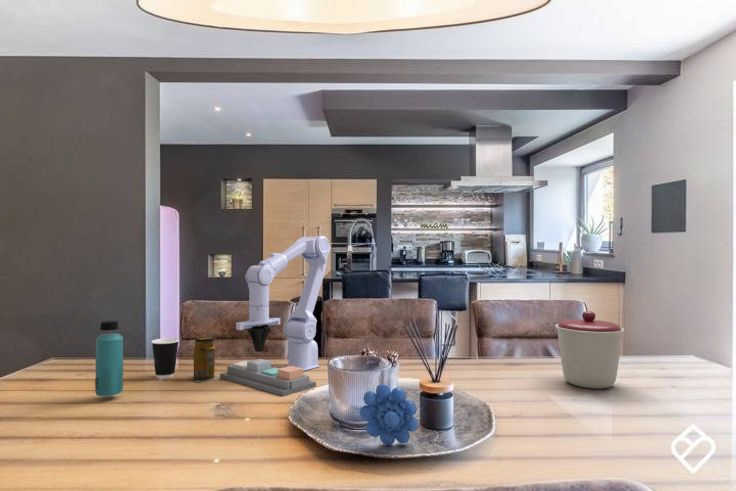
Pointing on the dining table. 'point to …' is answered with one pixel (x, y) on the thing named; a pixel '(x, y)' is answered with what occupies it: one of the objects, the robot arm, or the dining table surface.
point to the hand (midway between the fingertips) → (258, 351)
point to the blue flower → (389, 414)
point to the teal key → (271, 372)
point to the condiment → (204, 360)
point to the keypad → (267, 381)
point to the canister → (589, 351)
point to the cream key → (241, 364)
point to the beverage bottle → (109, 361)
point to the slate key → (258, 365)
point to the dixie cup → (165, 356)
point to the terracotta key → (290, 373)
